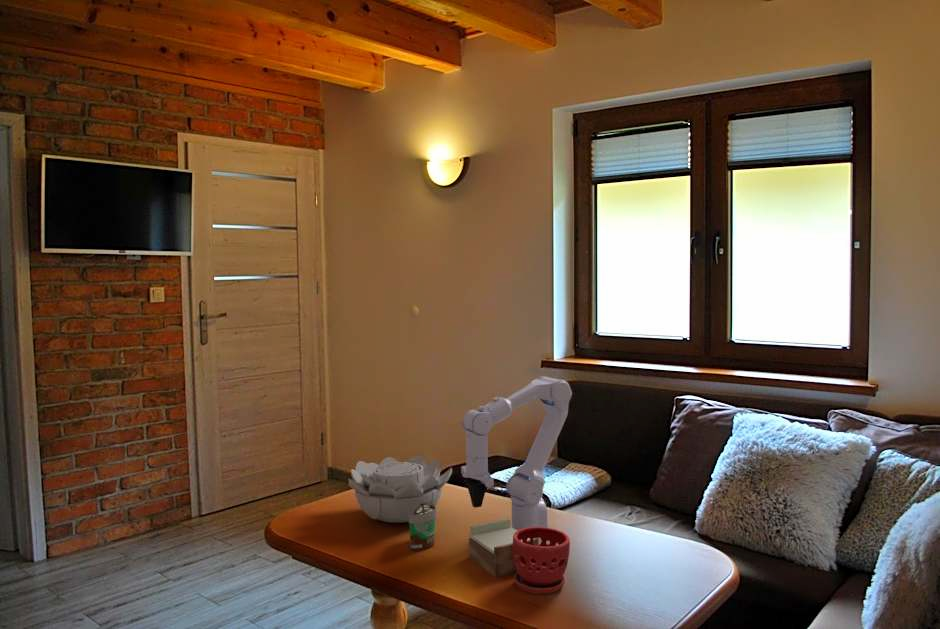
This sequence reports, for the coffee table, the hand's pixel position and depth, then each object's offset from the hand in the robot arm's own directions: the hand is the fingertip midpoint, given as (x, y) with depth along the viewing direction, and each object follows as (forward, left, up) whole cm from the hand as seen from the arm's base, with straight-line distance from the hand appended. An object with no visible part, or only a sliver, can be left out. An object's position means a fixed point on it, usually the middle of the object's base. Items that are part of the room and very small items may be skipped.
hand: (477, 506), depth 197 cm
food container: (+12, -7, -11) cm, 17 cm away
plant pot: (-1, +29, -11) cm, 31 cm away
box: (0, +13, -10) cm, 17 cm away
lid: (0, +13, -5) cm, 14 cm away
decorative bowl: (+11, -31, -11) cm, 34 cm away
